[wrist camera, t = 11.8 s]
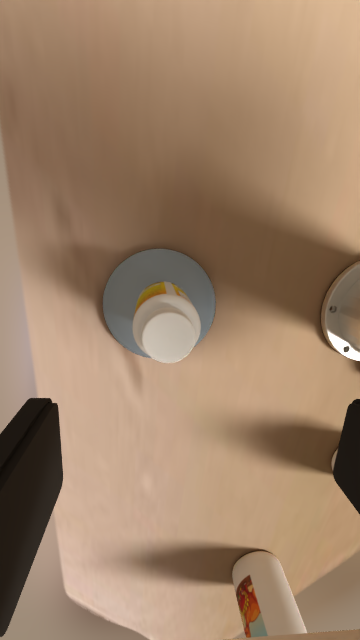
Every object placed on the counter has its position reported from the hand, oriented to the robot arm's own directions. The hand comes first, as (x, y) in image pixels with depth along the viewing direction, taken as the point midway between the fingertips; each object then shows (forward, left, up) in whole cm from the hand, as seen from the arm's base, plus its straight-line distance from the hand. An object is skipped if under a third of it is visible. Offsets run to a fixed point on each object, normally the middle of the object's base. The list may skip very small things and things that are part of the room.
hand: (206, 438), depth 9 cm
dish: (0, +1, -23) cm, 23 cm away
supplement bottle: (0, +1, -22) cm, 22 cm away
